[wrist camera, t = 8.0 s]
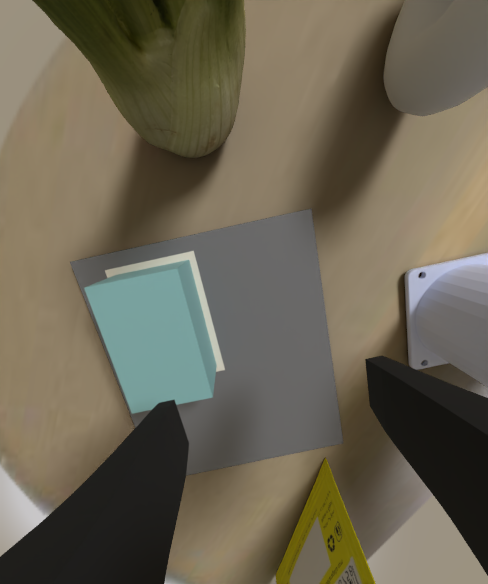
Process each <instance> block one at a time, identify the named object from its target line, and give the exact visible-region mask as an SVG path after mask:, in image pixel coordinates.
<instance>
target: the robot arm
mask: <svg viewBox="0 0 488 584" xmlns="http://www.w3.org/2000/svg"><path fill="white" fill-rule="evenodd" d="M420 272H421V273H422V275H421V277H418V275H419V273H420ZM405 295H406V316H407V337H408V358H409V366H410V367H409V366H406V365H404V364H401V363H399V362H397V361H394V360H392V359H389V358H387V357H384V356H379V357H374V358H369V359H366V370H367V380H368V390H369V401H370V407H371V408H372V410H373V412H374V414H375V415H376V417H377V419H378V420H379V422H380V424H381V425H382V427H383V429H384V430H385V432H386V433H387V435H388V436H389V437H390V439H391V440H392V441H393V443H394V444H395V445H396V447H397V448H398V449H399V451H400V452H401V453H402V455H403V456H404V457H405V459H406V460H407V461H408V462H409V464H410V465H411V466H412V468H413V469H414V470H415V472H416V473H417V474H418V476H419V477H420V478H421V479H422V481H423V482H424V483H425V485H426V486H427V487H428V489H429V490H430V491H431V493H432V494H433V495H434V496H435V498H436V499H437V500H438V502H439V503H440V504H441V506H442V507H443V509H444V510H445V511H446V513H447V514H448V516H449V517H450V518H451V520H452V521H453V523H454V524H455V526H456V527H457V529H458V530H459V532H460V533H461V535H462V537H463V538H464V540H465V541H466V543H467V544H468V546H469V547H470V549H471V550H472V552H473V553H474V555H475V556H476V558H477V559H478V561H479V563H480V564H481V566H482V567H483V569H484V570H485V572H486V574H487V575H488V398H486V397H483V396H481V395H478V394H475V393H473V392H470V391H467V390H465V389H462V388H459V387H457V386H454V385H452V384H449V383H447V382H444V381H442V380H439V379H437V378H435V377H432V376H430V375H427V374H425V373H423V372H420V371H418V370H419V369H424V368H428V367H433V366H438V365H443V364H448V363H450V364H452V365H453V366H455V367H457V368H458V369H460V370H461V371H463V372H465V373H466V374H468V375H469V376H471V377H472V378H474V379H476V380H477V381H479V382H480V383H482V384H483V385H485V386H487V387H488V253H484V254H479V255H475V256H470V257H465V258H461V259H456V260H452V261H447V262H442V263H438V264H433V265H428V266H424V267H419V268H414V269H411V270H408V271H407V272H406V274H405ZM423 360H424V362H423V363H422V361H423ZM411 367H412V368H411ZM188 451H189V441H188V438H187V435H186V432H185V429H184V426H183V423H182V420H181V417H180V414H179V411H178V408H177V405H176V402H175V400H170V401H165V402H160V403H158V404H157V405H156V406H155V407H154V408H153V409H152V410H151V411H150V412H149V413H148V415H147V416H146V417H145V418H144V419H143V420H142V421H141V422H140V424H139V425H138V426H137V427H136V428H135V429H134V430H133V431H132V432H131V434H130V435H129V436H128V437H127V438H126V439H125V440H124V441H123V442H122V444H121V445H120V446H119V447H118V448H117V449H116V450H115V451H114V452H113V453H112V454H111V455H110V456H109V457H108V458H107V459H106V461H105V462H104V463H103V464H102V465H101V466H100V467H99V468H98V469H97V470H96V471H95V472H94V473H93V474H92V475H91V476H90V477H89V478H88V479H87V480H86V481H85V482H84V483H83V484H82V485H81V486H80V487H79V488H78V489H77V490H76V491H75V492H74V493H73V494H72V495H71V496H70V497H69V498H67V499H66V500H65V501H64V502H63V503H62V504H61V505H60V506H59V507H58V508H57V509H55V510H54V511H53V512H52V513H51V514H50V515H49V516H48V517H47V518H46V519H45V520H43V521H42V522H41V523H40V524H39V525H38V526H36V527H35V528H34V529H33V530H32V531H30V532H29V533H28V534H27V535H26V536H24V537H23V538H22V539H21V540H20V541H18V543H16V544H15V545H14V546H13V547H11V548H10V549H9V550H8V551H7V552H5V553H4V554H3V555H2V556H1V557H0V584H164V581H165V575H166V569H167V564H168V558H169V553H170V548H171V544H172V539H173V534H174V530H175V525H176V520H177V516H178V511H179V506H180V502H181V497H182V492H183V487H184V483H185V478H186V471H187V462H188Z"/></svg>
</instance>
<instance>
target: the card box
mask: <svg viewBox="0 0 488 584" xmlns="http://www.w3.org/2000/svg"><path fill="white" fill-rule="evenodd" d="M84 289H85V292H86V294H87V297H88V300H89V302H90V305H91V308H92V310H93V313H94V316H95V318H96V321H97V323H98V326H99V329H100V331H101V334H102V337H103V339H104V342H105V344H106V347H107V350H108V352H109V355H110V358H111V360H112V363H113V365H114V368H115V371H116V373H117V376H118V379H119V381H120V384H121V386H122V389H123V392H124V394H125V397H126V400H127V402H128V405H129V408H130V410H131V413H132V414H133V413H138V412H143V411H148V410H152V409H153V408H154V407H155V406H156V405H157V404H158V403H160V402H165V401H170V400H175V402H176V405H178V404H183V403H188V402H193V401H198V400H203V399H208V398H213V392H214V384H215V376H216V367H217V364H216V361H215V357H214V353H213V349H212V345H211V341H210V338H209V334H208V330H207V326H206V322H205V318H204V314H203V311H202V307H201V303H200V299H199V295H198V291H197V287H196V284H195V280H194V276H193V272H192V268H191V264H190V261H189V260H185V261H180V262H175V263H171V264H166V265H161V266H156V267H151V268H147V269H142V270H137V271H132V272H127V273H123V274H118V275H114V276H112V277H109V278H107V279H104V280H102V281H100V282H97V283H95V284H92V285H90V286H87V287H85V288H84Z"/></svg>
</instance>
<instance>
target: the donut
mask: <svg viewBox="0 0 488 584" xmlns="http://www.w3.org/2000/svg"><path fill="white" fill-rule="evenodd" d="M383 77H384V86H385V89H386V93H387V96H388V98H389V100H390V102H391V104H392V106H393V107H395V108H396V109H398V110H399V111H401V112H405V113H408V114H412V115H418V116H427V115H431V114H435V113H438V112H441V111H444V110H447V109H449V108H452V107H455V106H458V105H460V104H461V103H463V102H465V101H467V100H468V99H470V98H471V97H473V96H474V95H476V94H477V93H479V92H481V91H482V90H484V89H485V88H487V87H488V0H405V1H404V3H403V6H402V8H401V11H400V13H399V16H398V18H397V21H396V23H395V26H394V29H393V33H392V36H391V39H390V43H389V46H388V50H387V55H386V60H385V68H384V76H383Z"/></svg>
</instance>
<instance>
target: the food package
mask: <svg viewBox="0 0 488 584" xmlns="http://www.w3.org/2000/svg"><path fill="white" fill-rule="evenodd" d="M276 583H277V584H375V581H374V578H373V576H372V574H371V571H370V568H369V566H368V563H367V561H366V558H365V556H364V553H363V551H362V548H361V546H360V543H359V541H358V538H357V536H356V533H355V531H354V528H353V526H352V523H351V521H350V518H349V516H348V513H347V511H346V508H345V506H344V503H343V501H342V498H341V496H340V493H339V491H338V488H337V485H336V483H335V480H334V478H333V475H332V472H331V469H330V467H329V464H328V462H327V459H326V457H325V459H324V461H323V464H322V466H321V468H320V471H319V474H318V476H317V479H316V481H315V484H314V486H313V488H312V491H311V493H310V495H309V498H308V500H307V502H306V505H305V507H304V510H303V512H302V514H301V517H300V519H299V521H298V524H297V526H296V529H295V531H294V533H293V536H292V538H291V540H290V543H289V545H288V548H287V550H286V552H285V555H284V557H283V559H282V562H281V564H280V566H279V568H278V571H277V573H276Z"/></svg>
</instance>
